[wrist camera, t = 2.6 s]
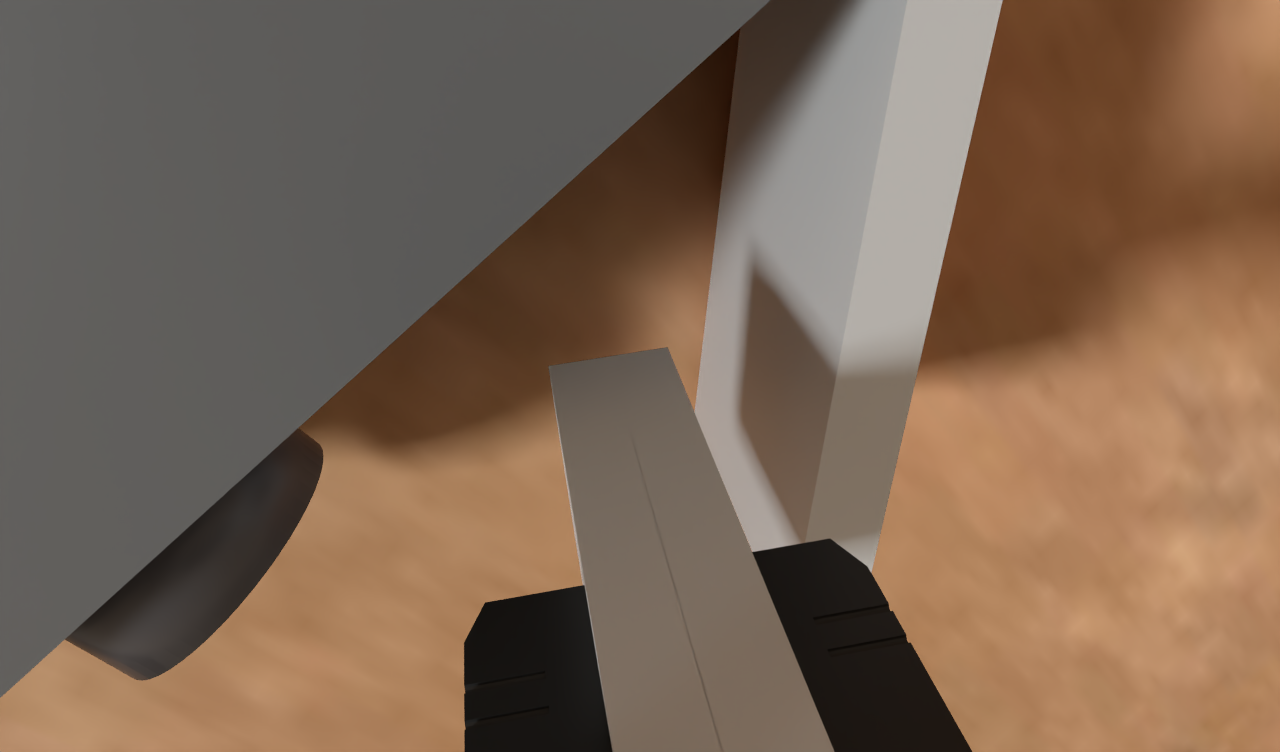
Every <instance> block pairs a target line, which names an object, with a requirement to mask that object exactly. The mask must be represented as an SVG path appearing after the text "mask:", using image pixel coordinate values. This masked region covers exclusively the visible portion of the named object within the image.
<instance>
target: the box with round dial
mask: <svg viewBox="0 0 1280 752" xmlns="http://www.w3.org/2000/svg"><path fill="white" fill-rule="evenodd" d="M769 1H770V0H0V697H2V696H3V695H4V694H5V693H6V692H7V691H8V690H9V689H10V688H11V687H13V686H14V685H15V684H16V683H17V682H18V681H19V680H20V679H21V678H23V677H24V676H25V675H26V674H27V673H28V672H29V671H30V670H31V669H32V668H34V667H35V666H36V665H37V664H38V663H39V662H40V661H41V660H42V659H44V658H45V657H46V656H47V655H48V654H49V653H50V652H51V651H52V650H53V649H55V648H56V647H57V646H58V645H59V644H60V643H61V642H62V641H63V640H64V639H65V640H67V641H68V642H70V643H72V644H74V645H75V646H77V647H79V648H81V649H83V650H84V651H86V652H88V653H90V654H91V655H93V656H95V657H97V658H98V659H100V660H102V661H104V662H106V663H107V664H109V665H111V666H113V667H114V668H116V669H118V670H120V671H121V672H123V673H125V674H127V675H129V676H130V677H132V678H134V679H136V680H148V679H151V678H154V677H156V676H159V675H161V674H162V673H164V672H166V671H168V670H169V669H171V668H172V667H174V666H175V665H177V664H178V663H180V662H181V661H182V660H184V659H185V658H186V657H187V656H189V655H190V654H191V653H192V652H193V651H195V650H196V649H197V648H198V647H199V646H200V645H201V644H202V643H204V642H205V641H206V640H207V639H208V638H209V637H210V636H211V635H212V634H213V633H214V632H215V631H216V630H217V629H218V628H219V627H220V626H221V625H222V624H223V623H224V622H225V621H226V620H227V619H228V618H229V616H230V615H231V614H232V613H233V612H234V611H235V610H236V609H237V608H238V607H239V605H240V604H241V603H242V602H243V601H244V599H245V598H246V597H247V596H248V595H249V593H250V592H251V591H252V590H253V589H254V587H255V586H256V585H257V583H258V582H259V581H260V580H261V578H262V577H263V576H264V574H265V573H266V572H267V570H268V569H269V568H270V566H271V565H272V563H273V562H274V561H275V559H276V558H277V556H278V555H279V553H280V552H281V550H282V549H283V547H284V546H285V544H286V543H287V541H288V540H289V538H290V537H291V535H292V533H293V532H294V530H295V528H296V526H297V525H298V523H299V521H300V520H301V518H302V516H303V514H304V512H305V510H306V508H307V506H308V504H309V502H310V500H311V498H312V496H313V493H314V491H315V488H316V486H317V483H318V480H319V477H320V474H321V470H322V465H323V450H322V448H321V446H320V445H319V444H318V443H317V442H316V441H315V440H313V439H312V438H311V437H309V436H308V435H307V434H305V433H304V432H303V431H301V430H300V429H299V427H300V426H301V425H302V424H303V423H304V422H305V421H306V420H307V419H309V418H310V417H311V416H312V415H313V414H314V413H315V412H316V411H317V410H319V409H320V408H321V407H322V406H323V405H324V404H325V403H326V402H327V401H328V400H330V399H331V398H332V397H333V396H334V395H335V394H336V393H337V392H338V391H340V390H341V389H342V388H343V387H344V386H345V385H346V384H347V383H348V382H349V381H351V380H352V379H353V378H354V377H355V376H356V375H357V374H358V373H359V372H361V371H362V370H363V369H364V368H365V367H366V366H367V365H368V364H369V363H370V362H372V361H373V360H374V359H375V358H376V357H377V356H378V355H379V354H380V353H381V352H383V351H384V350H385V349H386V348H387V347H388V346H389V345H390V344H391V343H393V342H394V341H395V340H396V339H397V338H398V337H399V336H400V335H401V334H402V333H404V332H405V331H406V330H407V329H408V328H409V327H410V326H411V325H412V324H414V323H415V322H416V321H417V320H418V319H419V318H420V317H421V316H422V315H423V314H425V313H426V312H427V311H428V310H429V309H430V308H431V307H432V306H433V305H435V304H436V303H437V302H438V301H439V300H440V299H441V298H442V297H443V296H444V295H446V294H447V293H448V292H449V291H450V290H451V289H452V288H453V287H454V286H455V285H457V284H458V283H459V282H460V281H461V280H462V279H463V278H464V277H465V276H467V275H468V274H469V273H470V272H471V271H472V270H473V269H474V268H475V267H476V266H478V265H479V264H480V263H481V262H482V261H483V260H484V259H485V258H486V257H488V256H489V255H490V254H491V253H492V252H493V251H494V250H495V249H496V248H497V247H499V246H500V245H501V244H502V243H503V242H504V241H505V240H506V239H507V238H509V237H510V236H511V235H512V234H513V233H514V232H515V231H516V230H517V229H518V228H520V227H521V226H522V225H523V224H524V223H525V222H526V221H527V220H528V219H530V218H531V217H532V216H533V215H534V214H535V213H536V212H537V211H538V210H539V209H541V208H542V207H543V206H544V205H545V204H546V203H547V202H548V201H549V200H550V199H552V198H553V197H554V196H555V195H556V194H557V193H558V192H559V191H560V190H562V189H563V188H564V187H565V186H566V185H567V184H568V183H569V182H570V181H571V180H573V179H574V178H575V177H576V176H577V175H578V174H579V173H580V172H581V171H583V170H584V169H585V168H586V167H587V166H588V165H589V164H590V163H591V162H592V161H594V160H595V159H596V158H597V157H598V156H599V155H600V154H601V153H602V152H604V151H605V150H606V149H607V148H608V147H609V146H610V145H611V144H612V143H613V142H615V141H616V140H617V139H618V138H619V137H620V136H621V135H622V134H623V133H624V132H626V131H627V130H628V129H629V128H630V127H631V126H632V125H633V124H634V123H636V122H637V121H638V120H639V119H640V118H641V117H642V116H643V115H644V114H645V113H647V112H648V111H649V110H650V109H651V108H652V107H653V106H654V105H655V104H657V103H658V102H659V101H660V100H661V99H662V98H663V97H664V96H665V95H666V94H668V93H669V92H670V91H671V90H672V89H673V88H674V87H675V86H676V85H678V84H679V83H680V82H681V81H682V80H683V79H684V78H685V77H686V76H687V75H689V74H690V73H691V72H692V71H693V70H694V69H695V68H696V67H697V66H698V65H700V64H701V63H702V62H703V61H704V60H705V59H706V58H707V57H708V56H710V55H711V54H712V53H713V52H714V51H715V50H716V49H717V48H718V47H719V46H721V45H722V44H723V43H724V42H725V41H726V40H727V39H728V38H729V37H731V36H732V35H733V34H734V33H735V32H736V31H737V30H738V29H739V28H740V27H742V26H743V25H744V24H745V23H746V22H747V21H748V20H749V19H750V18H752V17H753V16H754V15H755V14H756V13H757V12H758V11H759V10H760V9H761V8H763V7H764V6H765V5H766V4H767V3H768V2H769Z"/></svg>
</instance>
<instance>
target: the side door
mask: <svg viewBox="0 0 1280 752" xmlns="http://www.w3.org/2000/svg"><path fill="white" fill-rule="evenodd" d="M1002 1H1003V0H770V1H769V2H768V3H767V4H766V5H765V6H764V7H763V8H761V9H760V10H759V11H758V12H757V13H756V14H755V15H754V16H753V17H752V18H750V19H749V20H748V21H747V22H746V23H745V24H744V25H743V26H742V27H740V34H739V43H738V51H737V60H736V68H735V76H734V85H733V93H732V102H731V110H730V119H729V127H728V135H727V144H726V152H725V161H724V169H723V178H722V186H721V194H720V203H719V211H718V220H717V228H716V237H715V245H714V253H713V262H712V270H711V279H710V287H709V296H708V304H707V312H706V321H705V329H704V338H703V346H702V355H701V363H700V371H699V380H698V388H697V397H696V405H695V415H696V417H697V420H698V422H699V425H700V427H701V430H702V432H703V434H704V437H705V439H706V442H707V444H708V447H709V449H710V451H711V454H712V456H713V459H714V461H715V464H716V466H717V468H718V471H719V473H720V475H721V478H722V480H723V483H724V485H725V487H726V490H727V492H728V494H729V497H730V499H731V502H732V504H733V506H734V509H735V511H736V514H737V516H738V518H739V521H740V523H741V525H742V528H743V530H744V533H745V535H746V537H747V540H748V542H749V545H750V547H751V549H752V552H756V551H761V550H767V549H773V548H778V547H784V546H790V545H795V544H801V543H806V542H812V541H818V540H823V539H829V538H830V539H832V540H833V541H834V542H836V543H837V544H838V545H840V546H841V547H842V548H844V549H845V550H846V551H848V552H849V553H850V554H852V555H853V556H854V557H856V558H857V559H858V560H860V561H861V562H862V563H864V564H865V565H866V566H868V568H869V570H870V572H872V568H873V564H874V559H875V555H876V550H877V546H878V542H879V537H880V533H881V529H882V524H883V520H884V516H885V511H886V507H887V502H888V498H889V494H890V489H891V485H892V481H893V476H894V472H895V468H896V463H897V459H898V455H899V450H900V446H901V441H902V437H903V433H904V428H905V424H906V420H907V415H908V411H909V407H910V402H911V398H912V393H913V389H914V385H915V380H916V376H917V372H918V367H919V363H920V359H921V354H922V350H923V345H924V341H925V337H926V332H927V328H928V324H929V319H930V315H931V311H932V306H933V302H934V298H935V293H936V289H937V284H938V280H939V276H940V271H941V267H942V263H943V258H944V254H945V250H946V245H947V241H948V236H949V232H950V228H951V223H952V219H953V215H954V210H955V206H956V202H957V197H958V193H959V189H960V184H961V180H962V175H963V171H964V167H965V162H966V158H967V154H968V149H969V145H970V141H971V136H972V132H973V127H974V123H975V119H976V114H977V110H978V106H979V101H980V97H981V93H982V88H983V84H984V80H985V75H986V71H987V66H988V62H989V58H990V53H991V49H992V45H993V40H994V36H995V32H996V27H997V23H998V18H999V14H1000V10H1001V5H1002Z"/></svg>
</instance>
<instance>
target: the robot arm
mask: <svg viewBox="0 0 1280 752" xmlns="http://www.w3.org/2000/svg"><path fill="white" fill-rule="evenodd" d="M548 367H549V373H550V380H551V386H552V392H553V399H554V405H555V412H556V418H557V424H558V431H559V437H560V444H561V450H562V456H563V463H564V469H565V476H566V482H567V488H568V495H569V501H570V508H571V514H572V520H573V527H574V533H575V540H576V546H577V552H578V558H579V564H580V570H581V576H582V582H583V585H582V586H577V587H571V588H566V589H560V590H554V591H549V592H543V593H537V594H532V595H526V596H520V597H515V598H509V599H503V600H498V601H492V602H487V603H485V604H484V606H483V608H482V610H481V612H480V613H479V615H478V617H477V619H476V621H475V623H474V625H473V627H472V629H471V631H470V633H469V635H468V636H467V638H466V640H465V642H464V686H465V694H464V709H465V727H466V730H465V752H972V750H971V749H970V747H969V745H968V743H967V742H966V740H965V738H964V736H963V735H962V733H961V731H960V729H959V727H958V726H957V724H956V722H955V720H954V719H953V717H952V715H951V713H950V712H949V710H948V708H947V706H946V704H945V703H944V701H943V699H942V697H941V696H940V694H939V692H938V690H937V689H936V687H935V685H934V683H933V681H932V680H931V678H930V676H929V674H928V673H927V671H926V669H925V667H924V666H923V664H922V662H921V660H920V658H919V657H918V655H917V653H916V651H915V650H914V648H913V646H912V644H911V643H908V642H907V638H906V634H905V632H904V630H903V628H902V627H901V625H900V623H899V621H898V619H897V618H896V616H895V614H894V612H893V611H890V609H889V604H888V602H887V600H886V598H885V596H884V595H883V593H882V591H881V589H880V588H879V586H878V584H877V582H876V581H875V579H874V577H873V575H872V573H871V572H870V570H869V568H868V566H866V565H865V564H864V563H862V562H861V561H860V560H858V559H857V558H856V557H854V556H853V555H852V554H850V553H849V552H848V551H846V550H845V549H844V548H842V547H841V546H840V545H838V544H837V543H836V542H834V541H833V540H832V539H830V538H829V539H823V540H818V541H812V542H806V543H801V544H795V545H790V546H784V547H778V548H773V549H767V550H761V551H756V552H752V551H751V548H750V546H749V543H748V541H747V539H746V536H745V534H744V531H743V529H742V527H741V524H740V522H739V519H738V517H737V514H736V512H735V510H734V507H733V505H732V502H731V500H730V497H729V495H728V493H727V490H726V488H725V485H724V483H723V480H722V478H721V476H720V473H719V471H718V468H717V466H716V464H715V461H714V459H713V456H712V454H711V451H710V449H709V447H708V444H707V442H706V439H705V437H704V434H703V432H702V430H701V427H700V425H699V422H698V420H697V417H696V415H695V413H694V410H693V408H692V405H691V403H690V400H689V398H688V396H687V393H686V391H685V388H684V386H683V384H682V381H681V379H680V376H679V374H678V371H677V369H676V367H675V364H674V362H673V359H672V357H671V354H670V352H669V350H668V347H667V348H660V349H654V350H647V351H641V352H635V353H628V354H622V355H615V356H609V357H603V358H596V359H590V360H584V361H577V362H571V363H564V364H558V365H552V366H548Z"/></svg>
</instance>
